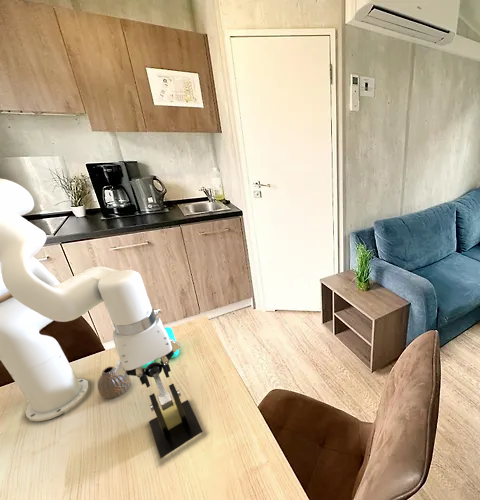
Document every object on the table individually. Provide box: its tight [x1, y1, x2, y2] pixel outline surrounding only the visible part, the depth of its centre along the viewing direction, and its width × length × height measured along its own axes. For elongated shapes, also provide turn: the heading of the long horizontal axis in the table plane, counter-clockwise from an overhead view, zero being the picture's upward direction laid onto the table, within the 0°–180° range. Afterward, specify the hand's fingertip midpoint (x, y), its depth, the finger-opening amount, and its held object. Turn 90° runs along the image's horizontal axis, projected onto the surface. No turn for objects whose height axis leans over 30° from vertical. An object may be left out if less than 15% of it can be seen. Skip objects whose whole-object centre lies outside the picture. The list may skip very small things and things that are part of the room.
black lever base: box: [148, 383, 203, 460], centre depth 68 cm, size 12×9×12 cm
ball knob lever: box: [144, 361, 174, 411], centre depth 69 cm, size 13×4×4 cm, turn 44°
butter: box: [160, 401, 182, 430], centre depth 71 cm, size 5×4×3 cm
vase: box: [96, 366, 131, 400], centre depth 78 cm, size 7×7×9 cm
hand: (157, 378), depth 73 cm, fingers closed on ball knob lever, 3 cm apart
